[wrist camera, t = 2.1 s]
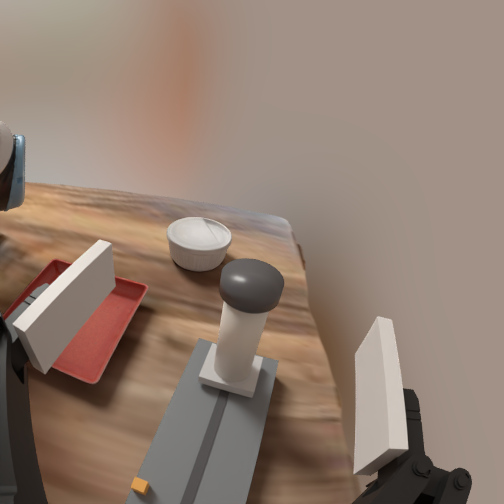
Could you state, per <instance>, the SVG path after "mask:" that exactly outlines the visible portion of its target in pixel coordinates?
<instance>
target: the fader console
mask: <svg viewBox="0 0 504 504" xmlns="http://www.w3.org/2000/svg"><path fill="white" fill-rule="evenodd" d="M212 343H213V342H210V341H207V340H204V339H200V338H199V340H198V342H197V344H196V346H195V348H194V350H193V353H192V355H191V357H190V359H189V361H188V363H187V366H186V368H185V370H184V372H183V374H182V377H181V379H180V381H179V383H178V385H177V388H176V390H175V392H174V394H173V396H172V399H171V401H170V403H169V405H168V407H167V410H166V412H165V414H164V416H163V419H162V421H161V423H160V425H159V427H158V430H157V432H156V434H155V436H154V439H153V441H152V443H151V445H150V448H149V450H148V452H147V454H146V457H145V459H144V461H143V463H142V466H141V468H140V470H139V472H138V475H137V477H135V478H134V480H133V483H132V485H131V491H130V493H129V495H128V497H127V500H126V502H125V504H246V500H247V496H248V493H249V489H250V485H251V481H252V477H253V473H254V469H255V465H256V461H257V456H258V452H259V448H260V444H261V439H262V435H263V431H264V426H265V422H266V417H267V413H268V408H269V404H270V399H271V394H272V390H273V385H274V380H275V375H276V370H277V365H278V360H274V359H270V358H266V357H263V360H262V364H261V368H260V372H259V376H258V380H257V384H256V388H255V391H254V394H253V397H252V398H250V397H247V396H243V395H239V394H236V393H232V392H229V391H225V390H222V389H219V388H215V387H212V386H209V385H206V384H202V383H199V382H198V377H199V374H200V372H201V369H202V367H203V364H204V362H205V360H206V357H207V355H208V352H209V350H210V347H211V345H212ZM214 344H217V343H214ZM256 356H258V355H256ZM260 357H262V356H260Z"/></svg>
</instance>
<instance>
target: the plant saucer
mask: <svg viewBox="0 0 504 504" xmlns="http://www.w3.org/2000/svg"><path fill="white" fill-rule="evenodd" d="M72 264H73V263H70V262H67V261H64V260H60V259H53V260H51V261H50V262H49V263H48V264H47V265H46V266H45V268H43V270H42V271H41V272H40V273H39V274H38V275H37V276H36V277H35V278H34V279H33V280H32V282H31V283H30V284H29V285H28V286H27V287H26V288H25V289H24V291H23V292H22V293H21V294H20V295H19V296H18V297H17V298H16V300H15V301H14V302H13V303H12V304H11V306H10V307H9V308H8V309H7V310H6V312H5V313H4V314H3V315H2V316H3V318H4V321H5V320H6V319H7V318H8V317H9V315H10V314H11V313H12V312H13V311H14V310H15V309H16V308H17V307H18V306H19V305H20V304H21V303H22V302H24V300H25V299H26V298H27V297H28V296H30V294H31V293H32V292H33V291H34V290H35V289H36V288H38V287H40V286H42V285H43V284H45V283H47V284H49V285H51V284H52V283H53V282H54V281H55V280H56V279H57V278H58V277H59V276H60V275H61V274H62V273H63V272H64V271H65V270H67V269H68V268H69V267H70V266H71V265H72ZM115 284H116V286H115V288H114V289H113V290H112V291H111V292H110V293H109V295H108V296H107V297H106V298H105V299H104V301H103V302H102V303H101V304H100V305H99V307H98V308H97V309H96V310H95V311H94V313H93V314H92V315H91V316H90V317H89V319H88V320H87V321H86V322H85V324H84V325H83V326H82V327H81V329H80V330H79V331H78V332H77V334H76V335H75V336H74V337H73V339H72V340H71V341H70V342H69V344H68V345H67V346H66V348H65V349H64V350H63V352H62V353H61V354H60V355H59V357H58V358H57V359H56V361H55V362H54V363H53V365H52V366H51V367H52V368H55V369H57V370H59V371H61V372H63V373H66V374H68V375H70V376H72V377H75V378H77V379H79V380H82V381H84V382H86V383H89V384H96V383H97V382H98V381H99V380H100V378H101V376H102V374H103V372H104V370H105V368H106V366H107V364H108V362H109V360H110V358H111V356H112V354H113V352H114V351H115V349H116V347H117V345H118V343H119V341H120V339H121V337H122V335H123V334H124V332H125V330H126V328H127V326H128V324H129V323H130V321H131V319H132V317H133V315H134V314H135V312H136V310H137V308H138V306H139V305H140V303H141V301H142V300H143V298H144V296H145V294H146V293H147V291H148V289H149V287H148V286H147V285H146V284H143V283H139V282H135V281H132V280H128V279H124V278H121V277H118V276H115Z"/></svg>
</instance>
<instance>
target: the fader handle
mask: <svg viewBox="0 0 504 504" xmlns="http://www.w3.org/2000/svg"><path fill="white" fill-rule="evenodd" d="M283 287H284V279H283V276H282V275H281V273H280V272H279V271H278V270H277V269H276V268H274V267H273V266H271V265H270V264H268V263H265V262H263V261H260V260H256V259H237V260H233V261H231V262H229V263H227V264H226V265H225V266H224V267H223V269H222V273H221V279H220V286H219V292H220V295H221V297H222V299H223V300H224V305H223V311H222V317H221V323H220V329H219V335H218V341H217V344H214V343H212V345H211V347H210V350H209V352H208V355H207V357H206V360H205V362H204V364H203V367H202V369H201V372H200V374H199V377H198V382H199V383H202V384H206V385H209V386H212V387H215V388H219V389H222V390H225V391H229V392H232V393H236V394H239V395H243V396H247V397H250V398H252V397H253V394H254V391H255V388H256V384H257V380H258V376H259V372H260V368H261V364H262V360H263V357H260V356H256V355H255V354H256V351H257V348H258V345H259V341H260V338H261V335H262V332H263V328H264V325H265V322H266V319H267V315H268V312H269V311H270V310H272V309H274V308H275V307H276V306H277V304H278V303H279V300H280V297H281V294H282V290H283Z"/></svg>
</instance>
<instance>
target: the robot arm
mask: <svg viewBox="0 0 504 504" xmlns="http://www.w3.org/2000/svg"><path fill="white" fill-rule="evenodd" d="M24 198H25V137H24V136H23V135H17V134H15V135H13V136H12V133H11V131H10V129H9V128H8V126H6V124H4V123H3V122H1V121H0V211H8V210H9V209H12V208H16V207H19V206H21V205H22V203H23V202H24ZM115 286H116V284H115V275H114V265H113V254H112V243H109V242H106V241H103V240H99V241H97V242H96V243H95V244H94V245H93V246H92V247H91V248H90V249H88V250H87V251H86V252H85V253H84V254H83V255H82V256H81V257H80V258H78V259H77V260H76V261H75V262H74V263H73V264H72V265H71V266H70V267H69V268H68V269H67V270H65V271H64V272H63V273H62V274H61V275H60V276H59V277H58V278H57V279H56V280H55V281H54V282H53V283H52V284H51V285H49V284H47V283H45V284H43V285H42V286H40V287H38V288H36V289H35V290H34V291H33V292H32V293H31V294H30V296H28V297H27V298H26V299H25V300H24V302H22V303H21V304H20V305H19V306H18V307H17V308H16V309H15V310H14V311H13V312H12V313H11V314H10V315H9V317H8V318H7V319H6V320H5V321H4V318H3V316H2V314H1V312H0V504H48V502H47V499H46V495H45V491H44V487H43V483H42V479H41V474H40V470H39V465H38V460H37V455H36V449H35V443H34V437H33V430H32V422H31V414H30V404H29V392H28V375H27V365H26V362H27V361H28V360H30V362H31V364H32V365H33V367H34V368H36V369H37V370H39V371H41V372H42V373H44V374H46V373H47V371H48V370H49V369H50V367H51V366H52V365H53V363H54V362H55V361H56V359H57V358H58V357H59V355H60V354H61V353H62V352H63V350H64V349H65V348H66V346H67V345H68V344H69V342H70V341H71V340H72V339H73V337H74V336H75V335H76V334H77V332H78V331H79V330H80V329H81V327H82V326H83V325H84V324H85V322H86V321H87V320H88V319H89V317H90V316H91V315H92V314H93V313H94V311H95V310H96V309H97V308H98V307H99V305H100V304H101V303H102V302H103V301H104V299H105V298H106V297H107V296H108V295H109V293H110V292H111V291H112V290H113V289H114V288H115ZM355 369H356V428H355V456H354V474H355V475H370V476H371V475H372V474H374V473H375V472H377V471H378V478H377V479H376V480H374V481H372V482H371V483H369V484H368V485H366V487H368V488H367V489H366V490H365V491H364V492H363V493H362V494H361V495H360V496H359V497H358V498H357V499H356V500H355V501H354V502H353V503H352V504H466V502H467V499H468V496H469V493H470V490H471V485H472V480H471V476H470V474H469V472H468V471H467V470H465V469H463V468H457V469H454V470H453V471H451V472H448V471H445V470H443V469H440V468H437V467H435V466H433V463H432V461H431V460H430V458H429V457H428V456H426V455H425V451H424V442H423V432H422V423H421V416H420V413H419V412H420V407H419V401H418V398H417V396H416V394H415V392H414V390H411V389H404V388H403V386H402V379H401V371H400V365H399V358H398V352H397V346H396V340H395V335H394V329H393V323H392V320H391V319H387V318H383V317H378V316H377V318H376V320H375V322H374V323H373V325H372V327H371V329H370V330H369V332H368V334H367V335H366V337H365V339H364V340H363V342H362V344H361V346H360V347H359V349H358V350H357V352H356V354H355Z"/></svg>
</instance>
